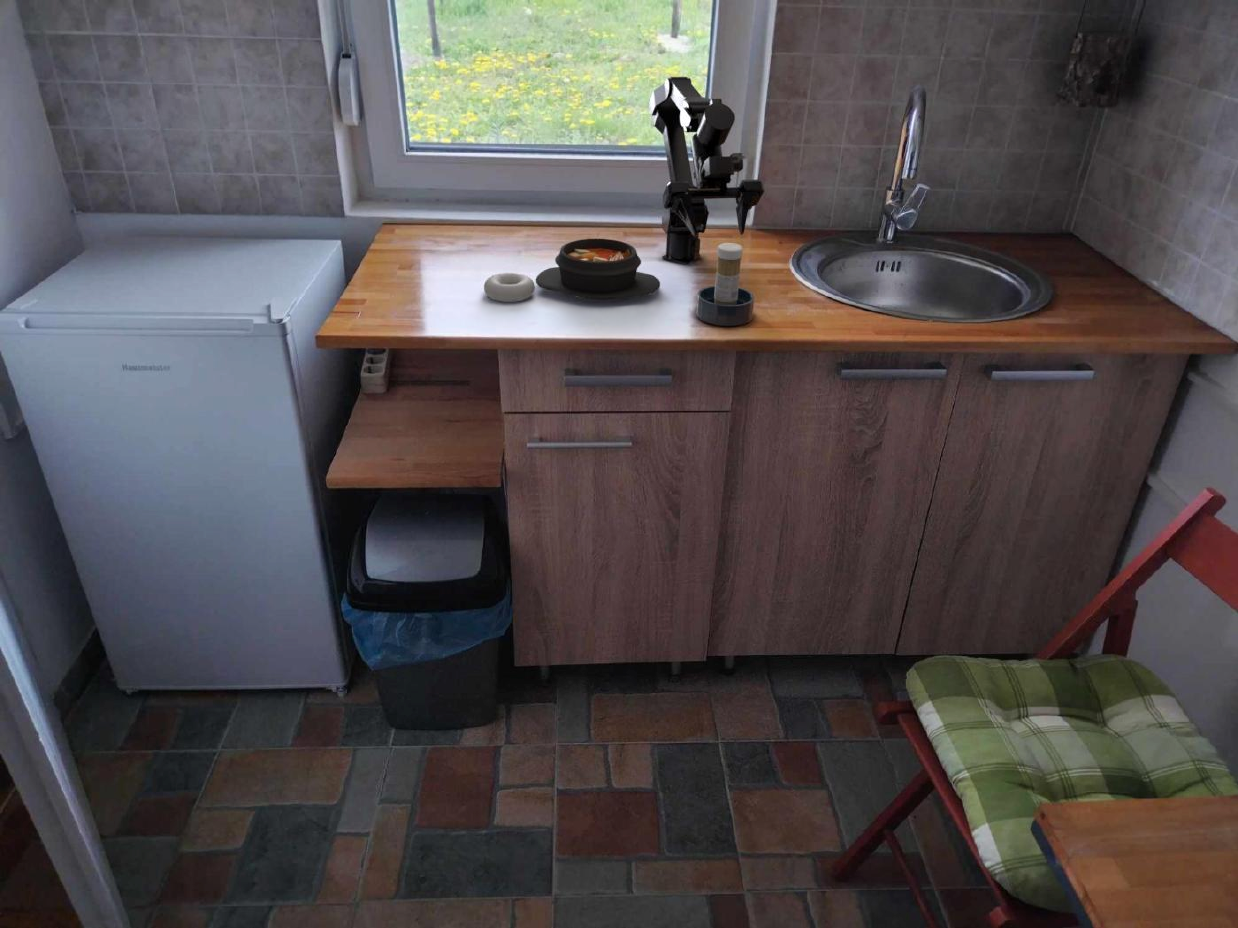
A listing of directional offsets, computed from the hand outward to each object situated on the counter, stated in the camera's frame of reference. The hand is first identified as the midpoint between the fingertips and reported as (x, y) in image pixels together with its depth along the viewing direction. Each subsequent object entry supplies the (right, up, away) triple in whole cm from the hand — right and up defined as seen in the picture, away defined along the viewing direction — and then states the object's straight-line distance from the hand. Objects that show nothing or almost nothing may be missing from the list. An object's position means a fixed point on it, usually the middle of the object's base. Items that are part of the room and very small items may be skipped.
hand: (719, 234), depth 174 cm
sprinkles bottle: (+1, -15, +1) cm, 15 cm away
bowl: (+1, -15, +1) cm, 16 cm away
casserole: (-23, -9, +11) cm, 27 cm away
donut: (-41, -10, +7) cm, 42 cm away
